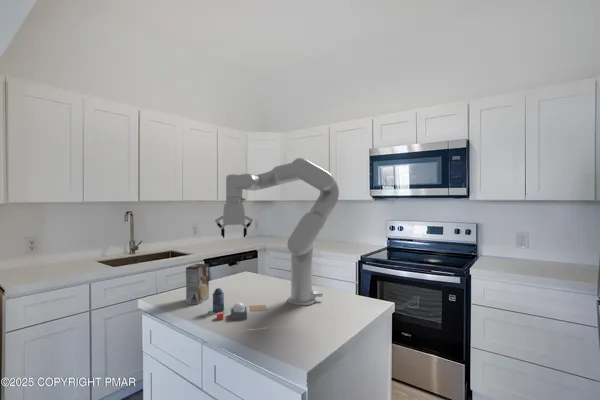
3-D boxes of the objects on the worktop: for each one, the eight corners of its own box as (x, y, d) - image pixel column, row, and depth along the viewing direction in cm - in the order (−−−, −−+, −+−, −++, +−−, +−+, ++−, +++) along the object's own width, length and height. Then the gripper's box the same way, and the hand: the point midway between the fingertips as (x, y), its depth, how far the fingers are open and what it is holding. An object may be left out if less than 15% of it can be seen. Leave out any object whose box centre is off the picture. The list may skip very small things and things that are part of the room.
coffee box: (196, 297, 143) (196, 263, 143) (209, 298, 142) (209, 263, 142) (185, 303, 134) (185, 267, 134) (198, 304, 133) (199, 268, 133)
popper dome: (244, 313, 121) (244, 300, 121) (244, 317, 116) (244, 304, 116) (233, 314, 120) (233, 301, 120) (233, 318, 115) (233, 304, 115)
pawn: (224, 308, 127) (223, 286, 127) (223, 312, 122) (223, 289, 122) (213, 309, 126) (212, 287, 126) (212, 313, 121) (212, 290, 121)
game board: (265, 305, 132) (265, 298, 132) (269, 318, 117) (269, 310, 117) (210, 309, 127) (210, 302, 127) (207, 323, 113) (207, 314, 113)
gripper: (252, 200, 149) (252, 235, 149) (215, 200, 145) (215, 236, 145) (253, 200, 141) (253, 237, 141) (214, 200, 138) (214, 238, 138)
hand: (234, 237), depth 143 cm, fingers open, 9 cm apart
